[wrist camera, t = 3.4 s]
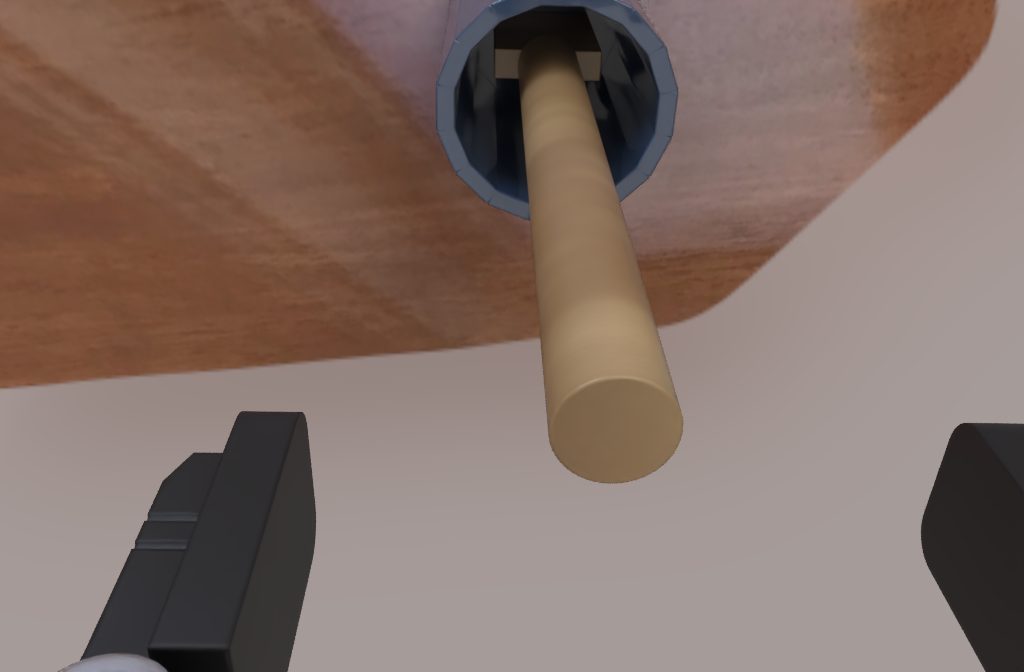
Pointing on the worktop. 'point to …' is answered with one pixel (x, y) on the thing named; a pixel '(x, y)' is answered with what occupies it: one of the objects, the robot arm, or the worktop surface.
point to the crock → (497, 108)
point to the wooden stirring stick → (585, 264)
